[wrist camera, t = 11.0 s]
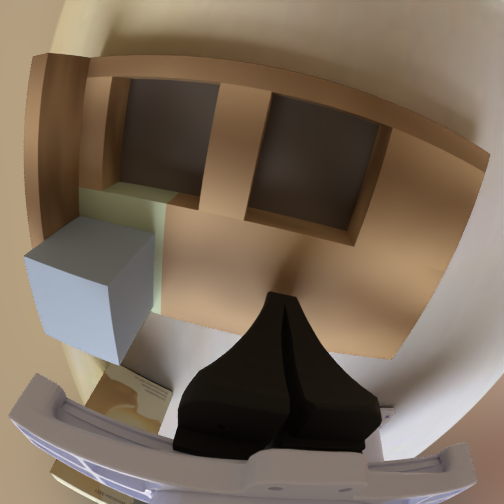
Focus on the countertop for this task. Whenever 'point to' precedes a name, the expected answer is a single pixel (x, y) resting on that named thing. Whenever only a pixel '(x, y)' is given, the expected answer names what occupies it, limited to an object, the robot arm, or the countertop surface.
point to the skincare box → (124, 410)
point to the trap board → (253, 188)
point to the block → (93, 285)
